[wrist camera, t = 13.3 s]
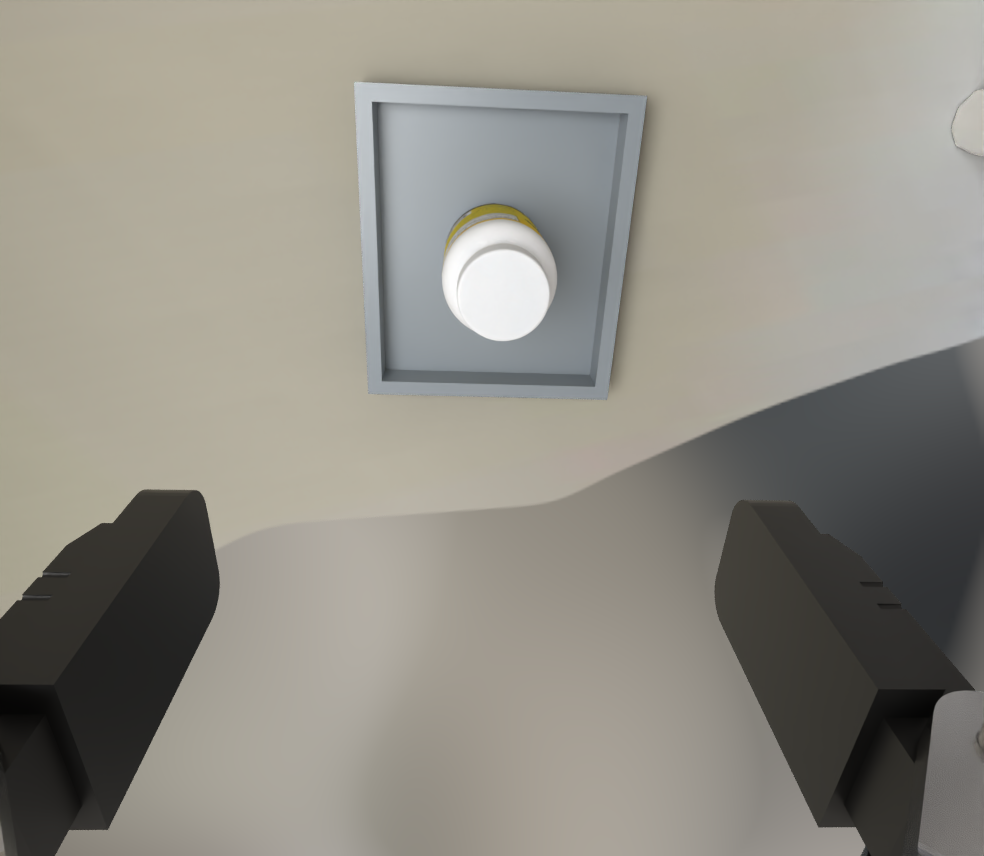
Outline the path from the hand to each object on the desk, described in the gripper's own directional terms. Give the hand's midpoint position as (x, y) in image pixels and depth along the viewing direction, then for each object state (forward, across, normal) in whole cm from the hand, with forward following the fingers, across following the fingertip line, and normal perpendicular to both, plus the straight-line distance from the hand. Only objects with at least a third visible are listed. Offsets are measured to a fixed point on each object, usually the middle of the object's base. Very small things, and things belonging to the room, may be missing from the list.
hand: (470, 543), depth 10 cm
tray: (+29, -1, +2) cm, 29 cm away
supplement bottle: (+29, -1, +2) cm, 29 cm away
